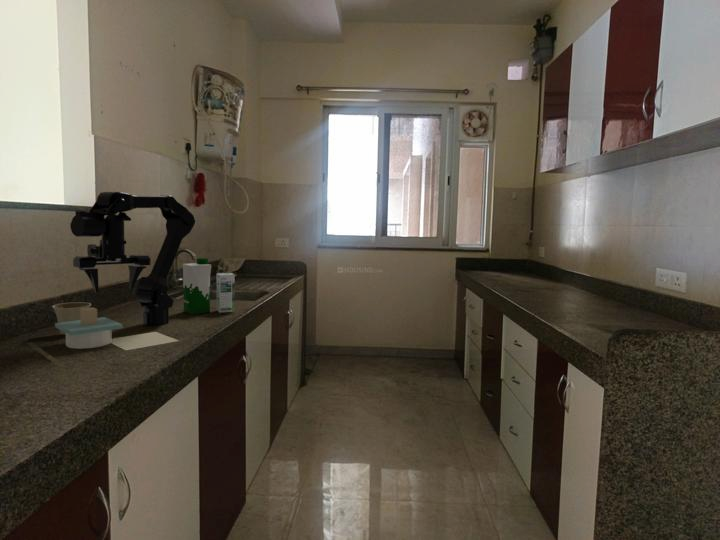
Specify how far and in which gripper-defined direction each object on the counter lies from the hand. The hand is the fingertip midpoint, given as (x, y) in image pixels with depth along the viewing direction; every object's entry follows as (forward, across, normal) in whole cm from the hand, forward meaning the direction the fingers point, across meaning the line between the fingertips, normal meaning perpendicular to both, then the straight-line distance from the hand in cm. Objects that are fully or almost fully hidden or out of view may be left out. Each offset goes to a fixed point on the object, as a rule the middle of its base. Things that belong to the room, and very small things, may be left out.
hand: (114, 291), depth 128 cm
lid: (+8, +9, +7) cm, 14 cm away
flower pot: (+13, +8, -9) cm, 18 cm away
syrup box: (+13, -44, -12) cm, 48 cm away
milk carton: (+13, -35, -17) cm, 41 cm away
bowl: (+13, +9, +7) cm, 17 cm away
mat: (+13, -2, +13) cm, 18 cm away
